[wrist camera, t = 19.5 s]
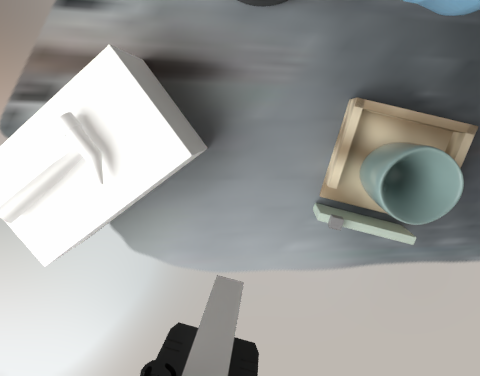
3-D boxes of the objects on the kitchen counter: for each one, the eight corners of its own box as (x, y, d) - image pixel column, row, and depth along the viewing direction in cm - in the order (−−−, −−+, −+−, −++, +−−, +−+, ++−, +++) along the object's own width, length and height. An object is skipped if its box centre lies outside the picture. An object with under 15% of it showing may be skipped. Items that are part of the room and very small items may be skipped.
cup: (428, 171, 38) (482, 190, 28) (378, 210, 40) (412, 240, 30) (389, 126, 37) (431, 129, 27) (339, 168, 39) (362, 184, 29)
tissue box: (208, 148, 41) (186, 158, 31) (85, 240, 47) (30, 276, 36) (143, 60, 40) (96, 38, 29) (23, 166, 45) (-53, 181, 35)
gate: (315, 201, 41) (322, 214, 36) (401, 223, 41) (421, 240, 35) (312, 210, 41) (318, 225, 36) (397, 232, 41) (417, 250, 35)
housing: (349, 99, 38) (357, 97, 34) (459, 125, 37) (478, 126, 34) (319, 194, 41) (323, 201, 38) (420, 220, 40) (434, 229, 37)
